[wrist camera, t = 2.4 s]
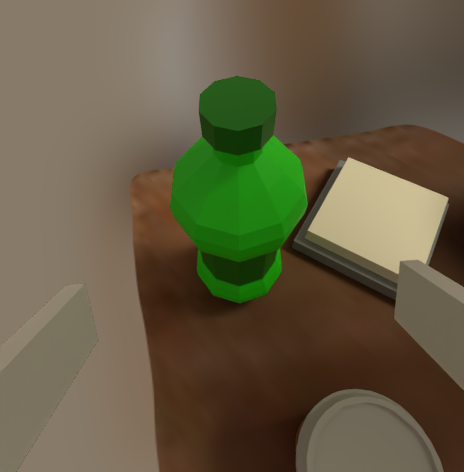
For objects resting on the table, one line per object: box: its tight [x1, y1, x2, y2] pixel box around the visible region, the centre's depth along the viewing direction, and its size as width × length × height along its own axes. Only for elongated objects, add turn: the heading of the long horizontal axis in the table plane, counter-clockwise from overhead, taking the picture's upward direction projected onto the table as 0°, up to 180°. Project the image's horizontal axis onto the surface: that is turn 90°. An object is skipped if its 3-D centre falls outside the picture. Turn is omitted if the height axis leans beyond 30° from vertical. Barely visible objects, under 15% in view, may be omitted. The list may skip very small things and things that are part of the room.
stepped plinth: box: [291, 157, 449, 301], centre depth 39 cm, size 15×15×4 cm
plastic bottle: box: [170, 76, 308, 304], centre depth 28 cm, size 10×10×25 cm
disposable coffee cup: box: [295, 389, 444, 472], centre depth 25 cm, size 10×10×12 cm
